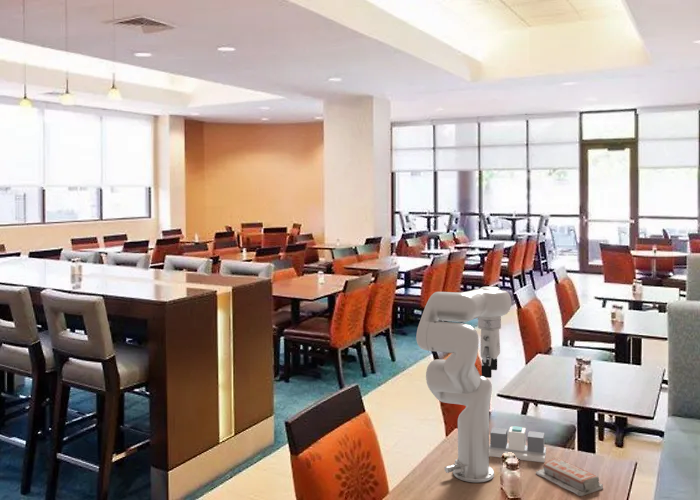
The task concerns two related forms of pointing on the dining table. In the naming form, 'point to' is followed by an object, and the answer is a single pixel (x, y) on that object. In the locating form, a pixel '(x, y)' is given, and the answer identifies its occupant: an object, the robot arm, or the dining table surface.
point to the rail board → (531, 452)
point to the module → (517, 438)
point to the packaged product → (570, 477)
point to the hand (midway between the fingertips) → (489, 373)
